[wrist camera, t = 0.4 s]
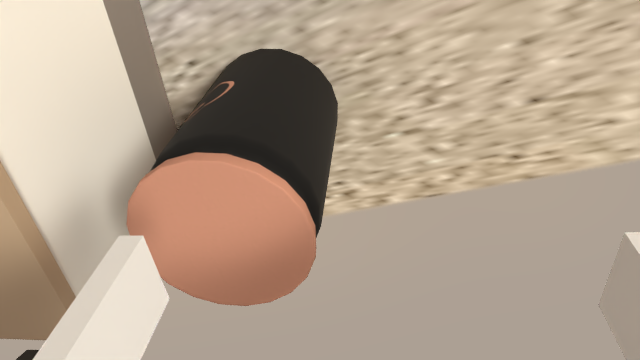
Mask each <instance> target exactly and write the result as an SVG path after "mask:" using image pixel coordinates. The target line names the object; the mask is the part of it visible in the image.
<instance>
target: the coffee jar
mask: <svg viewBox="0 0 640 360" xmlns="http://www.w3.org/2000/svg"><path fill="white" fill-rule="evenodd" d="M337 106H338V103H337V100H336V97H335V94H334V91H333V88H332V85H331V84H330V82H329V81H328V80H327V78H326V77H325V76H324V74H323V73H322V72H321V70H320V69H319V68H318V67H316V66H315V65H313V64H312V63H311V62H309V61H308V60H307V59H305V58H304V57H302V56H300V55H297V54H294V53H291V52H288V51H285V50H282V49H259V50H256V51H253V52H249V53H246V54H243V55H241V56H240V57H238V58H237V59H236V60H235V61H233V62H232V63H231V64H229V65H228V66H227V67H226V68H225V70H224V71H223V72H222V74H221V75H220V76H219V77H218V79H217V80H216V81H215V83H214V84H213V85H212V87H211V88H210V89H209V91H208V92H207V93H206V94H205V96H204V97H203V98H202V100H201V101H200V102H199V104H198V105H197V106H196V108H195V109H194V110H193V111H192V113H191V114H190V115H189V117H188V118H187V119H186V121H185V122H184V123H183V125H182V126H181V127H180V128H179V130H178V131H177V132H176V134H175V135H174V136H173V138H172V139H171V140H170V142H169V143H168V144H167V145H166V147H165V148H164V149H163V151H162V152H161V153H160V155H159V156H158V158H157V160H156V162H155V163H154V165H153V167H152V168H151V170H150V172H149V173H148V174H146V175H145V176H144V177H143V178H142V179H141V180H140V182H139V183H138V185H137V187H136V188H135V190H134V192H133V194H132V195H131V197H130V199H129V201H128V210H127V224H126V225H127V228H128V231H129V234H130V236H144V239H145V241H146V244H147V246H148V248H149V251H150V253H151V256H152V258H153V260H154V263H155V265H156V267H157V270H158V272H159V275H160V277H161V278H162V279H163V280H165V281H166V282H167V283H168V284H170V285H172V286H173V287H175V288H177V289H179V290H181V291H183V292H185V293H187V294H189V295H191V296H193V297H196V298H200V299H203V300H207V301H210V302H214V303H217V304H225V305H240V306H249V305H255V304H261V303H268V302H271V301H274V300H276V299H278V298H280V297H282V296H285V295H287V294H289V293H291V292H292V291H293V290H294V289H295V288H296V287H297V286H298V285H299V284H301V283H302V281H304V280H305V279H306V278H307V276H308V274H309V272H310V269H311V267H312V265H313V262H314V260H315V257H316V237H317V234H318V232H319V230H320V227H321V222H322V216H323V209H324V203H325V197H326V190H327V184H328V178H329V171H330V165H331V159H332V152H333V146H334V140H335V133H336V127H337Z"/></svg>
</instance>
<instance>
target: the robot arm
mask: <svg viewBox="0 0 640 360" xmlns="http://www.w3.org/2000/svg"><path fill="white" fill-rule="evenodd" d="M168 301H169V296H168V294H167V291H166V289H165V287H164V284H163V282H162V279H161V277H160V275H159V272H158V270H157V267H156V265H155V263H154V260H153V258H152V256H151V253H150V251H149V248H148V246H147V244H146V241H145V239H144V236H119V237H118V238H117V239H116V241H115V242H114V244H113V245H112V247H111V248H110V249H109V251H108V252H107V254H106V255H105V257H104V258H103V259H102V261H101V262H100V264H99V265H98V267H97V268H96V270H95V271H94V272H93V274H92V275H91V277H90V278H89V280H88V281H87V282H86V284H85V285H84V287H83V288H82V290H81V291H80V292H79V294H78V295H77V297H76V298H75V300H74V301H73V303H72V304H71V305H70V307H69V308H68V310H67V311H66V313H65V314H64V315H63V317H62V318H61V320H60V321H59V323H58V324H57V325H56V327H55V328H54V330H53V331H52V333H51V334H50V336H49V337H48V338H47V340H46V341H45V343H44V344H43V346H42V347H41V348H40V350H26V351H25V352H24V353H23V354H22V355H21V356H20V357H18V358H17V359H16V360H141V357H142V355H143V353H144V351H145V349H146V347H147V345H148V343H149V341H150V339H151V337H152V334H153V332H154V330H155V328H156V326H157V324H158V322H159V320H160V318H161V315H162V313H163V311H164V309H165V307H166V305H167V303H168ZM599 307H600V309H601V311H602V313H603V315H604V317H605V319H606V321H607V323H608V325H609V327H610V329H611V331H612V333H613V335H614V337H615V339H616V341H617V343H618V345H619V347H620V349H621V350H622V353H623V355H624V357H625V359H626V360H640V232H625V233H624V236H623V239H622V241H621V244H620V247H619V250H618V252H617V255H616V258H615V261H614V263H613V266H612V269H611V272H610V274H609V277H608V280H607V283H606V285H605V288H604V291H603V294H602V297H601V299H600V302H599Z"/></svg>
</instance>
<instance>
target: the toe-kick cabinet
mask: <svg viewBox="0 0 640 360" xmlns="http://www.w3.org/2000/svg"><path fill="white" fill-rule="evenodd" d="M176 132H177V129H176V126H175V122H174V119H173V116H172V112H171V109H170V105H169V102H168V98H167V95H166V91H165V88H164V85H163V81H162V78H161V74H160V71H159V67H158V64H157V60H156V57H155V54H154V50H153V47H152V43H151V40H150V36H149V33H148V29H147V26H146V23H145V19H144V16H143V12H142V9H141V5H140V2H139V0H0V339H27V340H47V338H48V337H49V336H50V334H51V333H52V331H53V330H54V328H55V327H56V325H57V324H58V323H59V321H60V320H61V318H62V317H63V315H64V314H65V313H66V311H67V310H68V308H69V307H70V305H71V304H72V303H73V301H74V300H75V298H76V297H77V295H78V294H79V292H80V291H81V290H82V288H83V287H84V285H85V284H86V282H87V281H88V280H89V278H90V277H91V275H92V274H93V272H94V271H95V270H96V268H97V267H98V265H99V264H100V262H101V261H102V259H103V258H104V257H105V255H106V254H107V252H108V251H109V249H110V248H111V247H112V245H113V244H114V242H115V241H116V239H117V238H118V237H119V236H130V234H129V231H128V228H127V225H126V224H127V210H128V201H129V199H130V197H131V195H132V194H133V192H134V190H135V188H136V187H137V185H138V183H139V182H140V180H141V179H142V178H143V177H144V176H145V175H146V174H148V173H149V172H150V170H151V168H152V167H153V165H154V163H155V162H156V160H157V158H158V156H159V155H160V153H161V152H162V151H163V149H164V148H165V147H166V145H167V144H168V143H169V142H170V140H171V139H172V138H173V136H174V135H175V134H176Z"/></svg>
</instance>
